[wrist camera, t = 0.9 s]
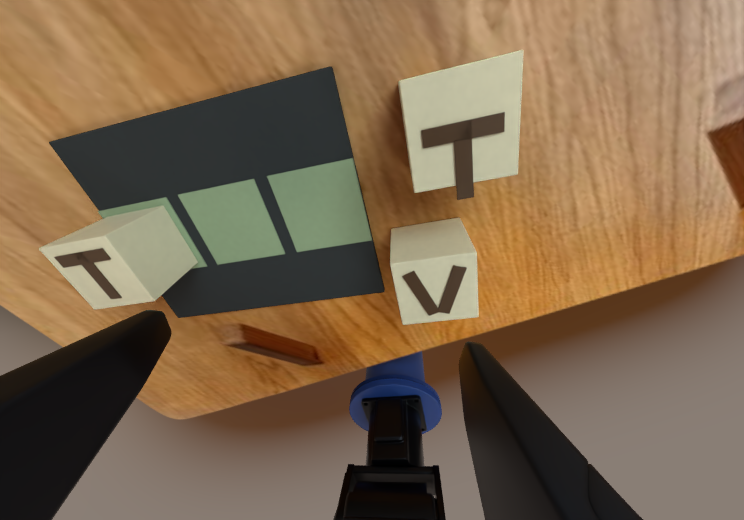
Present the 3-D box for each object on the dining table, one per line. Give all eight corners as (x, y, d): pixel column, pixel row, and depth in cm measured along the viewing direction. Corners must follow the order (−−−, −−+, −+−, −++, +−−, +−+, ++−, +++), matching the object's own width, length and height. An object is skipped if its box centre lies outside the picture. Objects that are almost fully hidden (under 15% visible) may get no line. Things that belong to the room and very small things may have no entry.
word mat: (384, 289, 24) (384, 293, 24) (180, 315, 27) (177, 318, 27) (332, 66, 16) (330, 66, 16) (54, 141, 20) (46, 142, 19)
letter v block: (463, 274, 23) (479, 318, 18) (401, 282, 24) (402, 326, 19) (459, 217, 20) (477, 252, 16) (390, 228, 21) (389, 265, 17)
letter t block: (488, 164, 18) (518, 189, 14) (411, 179, 19) (416, 207, 15) (488, 59, 15) (525, 49, 11) (397, 81, 16) (398, 80, 12)
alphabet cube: (198, 262, 23) (153, 302, 19) (147, 270, 24) (92, 310, 20) (163, 205, 21) (103, 236, 17) (107, 216, 22) (35, 249, 17)
